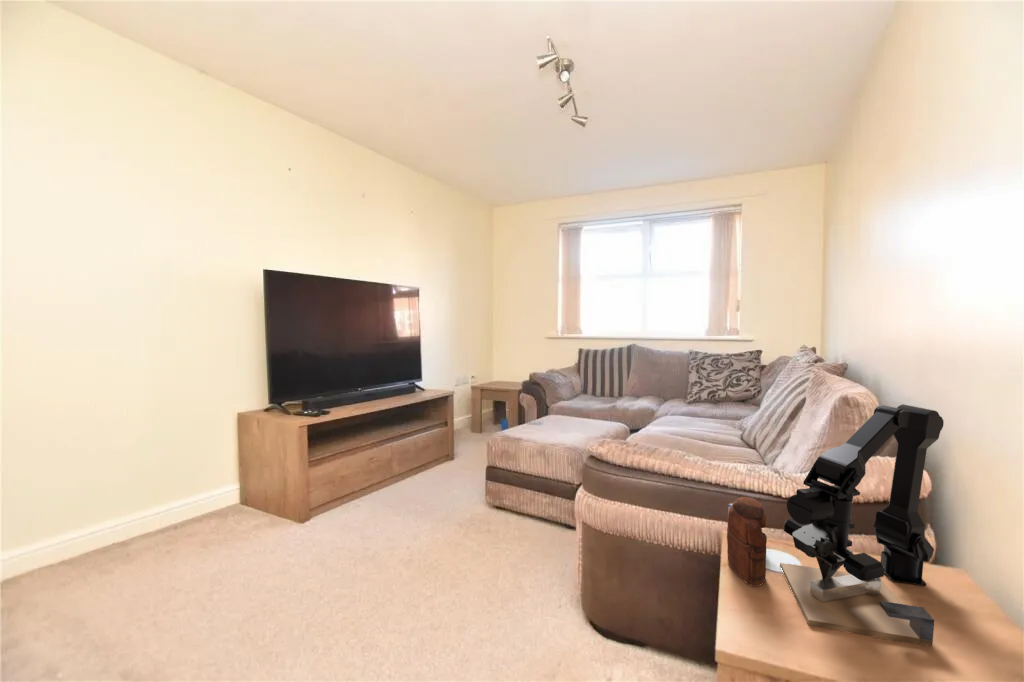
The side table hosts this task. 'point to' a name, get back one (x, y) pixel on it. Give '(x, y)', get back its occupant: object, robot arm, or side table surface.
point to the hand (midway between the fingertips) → (825, 582)
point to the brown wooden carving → (747, 540)
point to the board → (848, 608)
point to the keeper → (912, 618)
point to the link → (843, 587)
